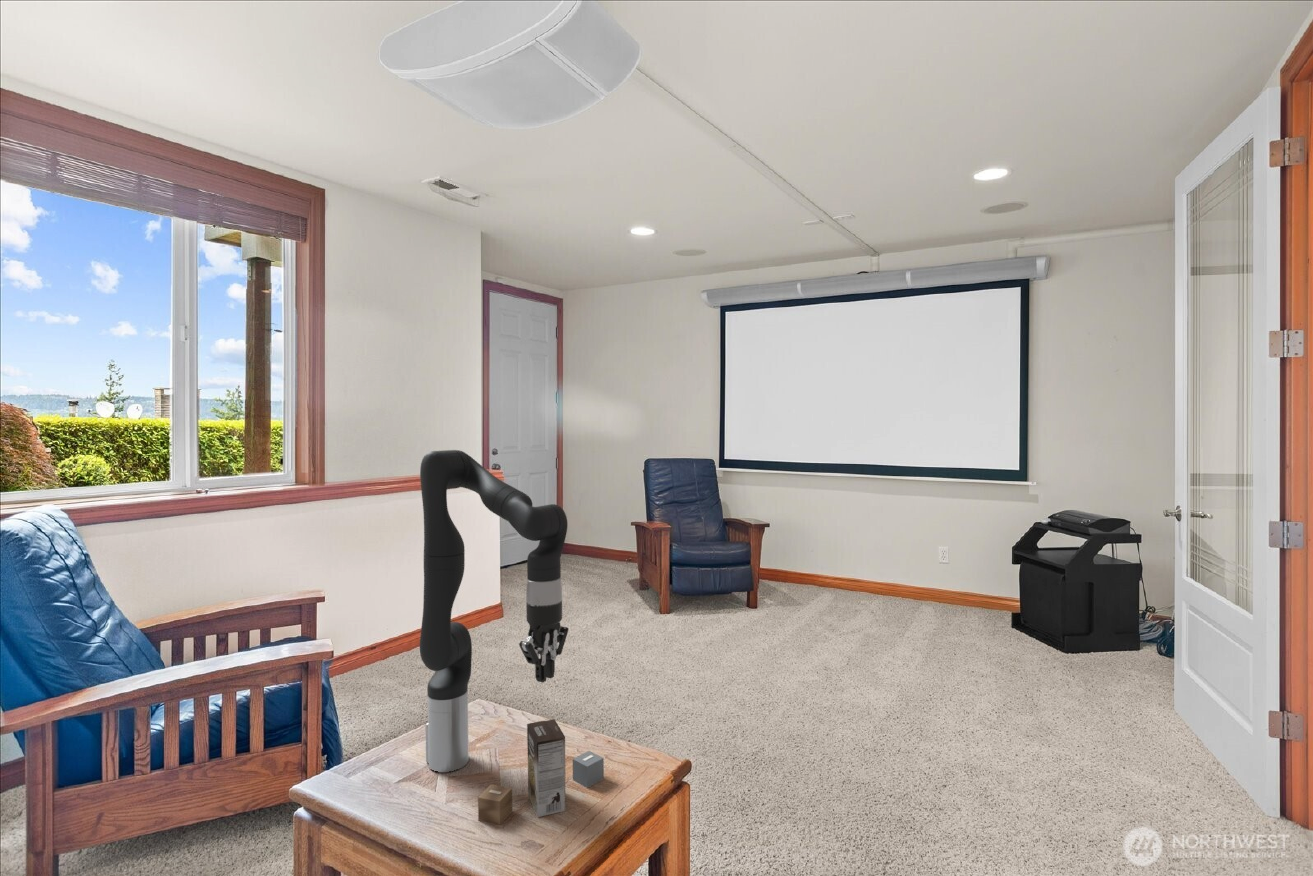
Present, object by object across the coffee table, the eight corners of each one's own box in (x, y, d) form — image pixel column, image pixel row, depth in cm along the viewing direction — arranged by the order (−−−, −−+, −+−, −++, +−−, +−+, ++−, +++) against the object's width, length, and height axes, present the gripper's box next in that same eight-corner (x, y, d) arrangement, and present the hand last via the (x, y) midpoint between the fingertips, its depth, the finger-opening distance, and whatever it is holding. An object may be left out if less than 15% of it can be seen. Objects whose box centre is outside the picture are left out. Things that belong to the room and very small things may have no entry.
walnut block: (478, 821, 135) (478, 796, 135) (491, 807, 140) (491, 783, 140) (499, 825, 134) (499, 800, 134) (512, 811, 139) (511, 787, 138)
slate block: (572, 780, 150) (572, 758, 150) (589, 771, 154) (588, 750, 154) (587, 788, 147) (587, 766, 147) (603, 779, 151) (603, 757, 150)
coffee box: (526, 795, 144) (526, 723, 144) (555, 788, 147) (555, 717, 146) (536, 818, 136) (535, 742, 135) (566, 811, 138) (565, 735, 138)
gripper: (552, 589, 148) (553, 665, 148) (508, 604, 136) (509, 686, 137) (578, 594, 144) (579, 672, 144) (535, 610, 132) (536, 695, 133)
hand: (545, 679), depth 140 cm, fingers closed
